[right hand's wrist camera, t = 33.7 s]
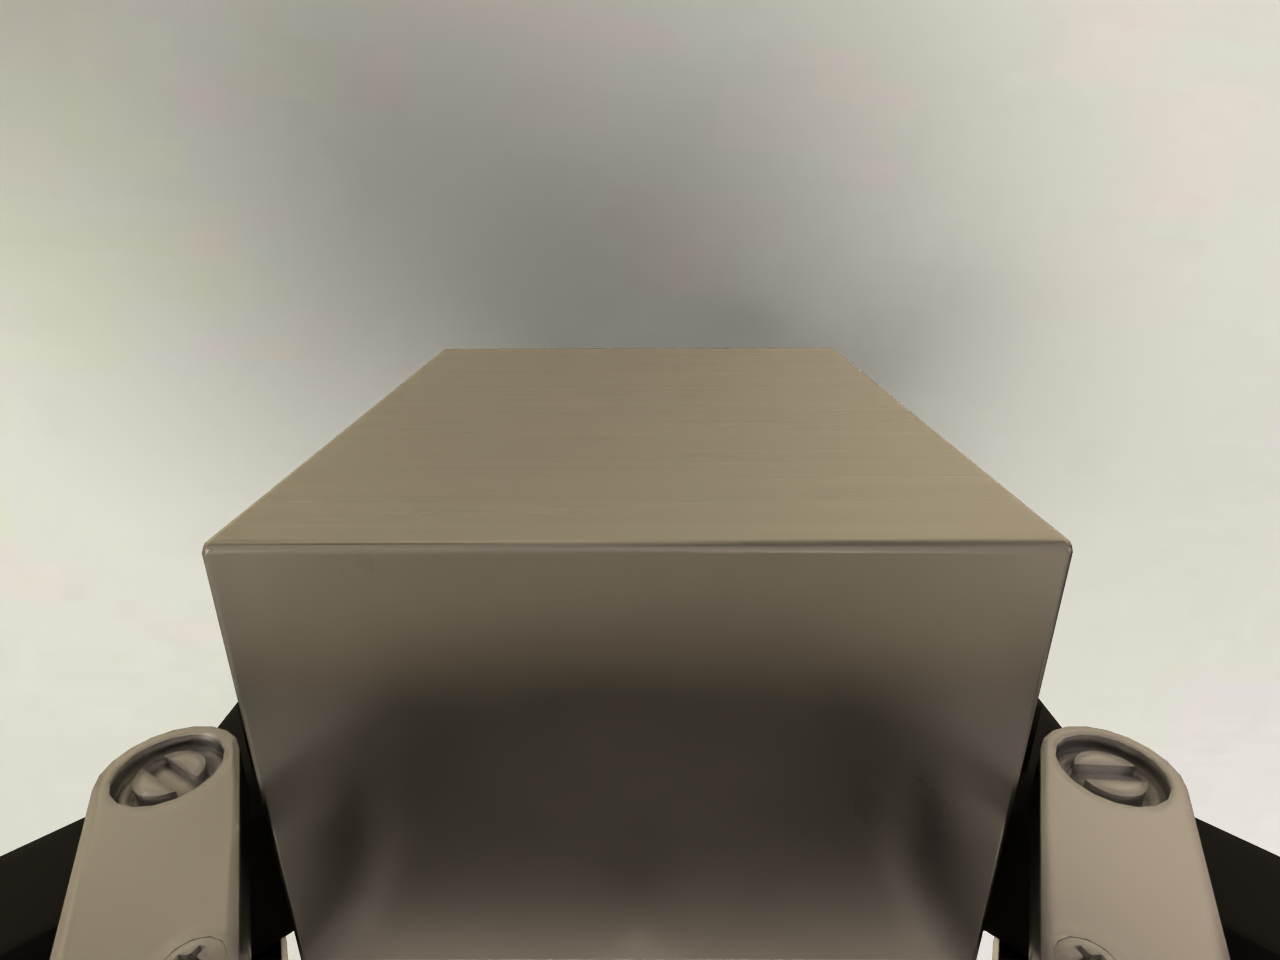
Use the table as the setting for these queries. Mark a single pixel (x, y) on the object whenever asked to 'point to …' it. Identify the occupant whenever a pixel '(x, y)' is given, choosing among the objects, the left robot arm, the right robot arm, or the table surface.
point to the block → (638, 664)
